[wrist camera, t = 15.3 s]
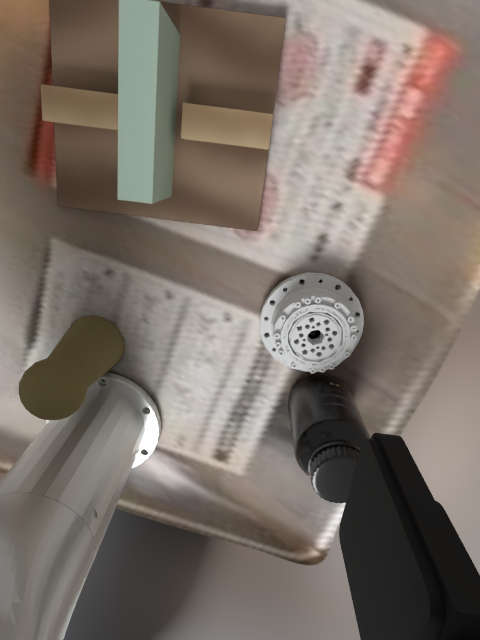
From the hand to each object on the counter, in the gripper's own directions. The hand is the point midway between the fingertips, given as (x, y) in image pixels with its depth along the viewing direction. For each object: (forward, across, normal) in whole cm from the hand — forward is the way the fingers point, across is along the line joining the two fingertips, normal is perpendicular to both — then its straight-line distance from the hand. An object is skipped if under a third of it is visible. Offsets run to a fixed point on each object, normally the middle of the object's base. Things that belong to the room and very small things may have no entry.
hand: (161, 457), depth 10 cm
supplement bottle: (+31, -11, +16) cm, 36 cm away
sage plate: (+29, +7, -9) cm, 31 cm away
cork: (+31, +13, +13) cm, 35 cm away
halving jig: (+30, +7, -9) cm, 32 cm away
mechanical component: (+31, -8, +7) cm, 33 cm away
